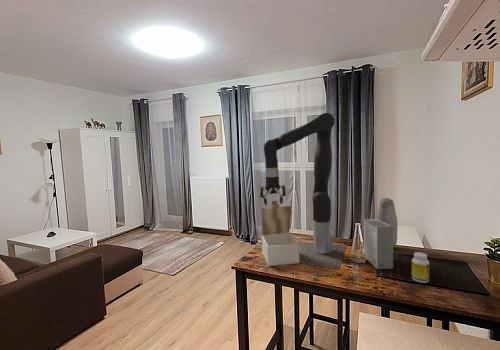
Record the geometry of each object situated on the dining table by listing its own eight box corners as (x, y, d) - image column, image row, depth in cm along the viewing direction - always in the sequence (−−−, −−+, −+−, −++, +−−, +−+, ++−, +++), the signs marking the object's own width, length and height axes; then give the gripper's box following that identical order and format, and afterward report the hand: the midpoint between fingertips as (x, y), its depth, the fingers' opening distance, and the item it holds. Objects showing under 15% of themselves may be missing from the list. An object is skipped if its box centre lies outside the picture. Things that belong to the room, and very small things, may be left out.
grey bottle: (375, 244, 151) (375, 196, 148) (395, 245, 147) (395, 196, 145) (377, 250, 141) (377, 200, 139) (399, 252, 138) (399, 200, 135)
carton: (289, 249, 149) (289, 232, 148) (299, 262, 132) (298, 243, 131) (262, 252, 148) (261, 235, 147) (268, 266, 130) (267, 246, 129)
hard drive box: (393, 269, 120) (393, 227, 118) (377, 269, 120) (376, 227, 118) (378, 255, 135) (377, 218, 134) (363, 256, 136) (362, 218, 134)
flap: (289, 232, 148) (286, 225, 154) (291, 206, 140) (288, 199, 146) (261, 235, 147) (259, 227, 152) (262, 208, 138) (260, 201, 144)
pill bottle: (429, 284, 105) (429, 258, 104) (411, 281, 109) (411, 255, 108) (428, 277, 111) (429, 252, 110) (411, 274, 114) (411, 250, 113)
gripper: (282, 174, 151) (284, 202, 152) (258, 176, 149) (259, 203, 151) (286, 175, 143) (287, 204, 145) (260, 177, 142) (262, 206, 143)
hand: (273, 204), depth 148 cm, fingers open, 8 cm apart
